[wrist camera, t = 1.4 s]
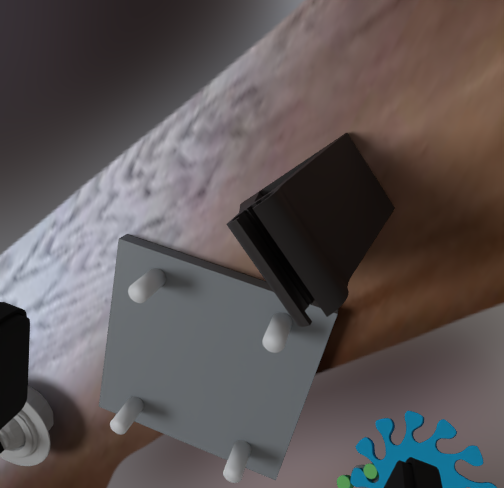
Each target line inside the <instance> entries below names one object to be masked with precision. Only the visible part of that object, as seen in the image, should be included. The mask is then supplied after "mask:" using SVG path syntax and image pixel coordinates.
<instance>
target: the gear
mask: <svg viewBox="0 0 504 488" xmlns="http://www.w3.org/2000/svg"><path fill="white" fill-rule="evenodd" d="M405 421H406V434H405V437H404V439H403V441H402V443H401V444H400V445H395V444H393V443H392V441H391V434H392V432H393V431H394V427H395V426H394V422H393V420H392V419H389V418H384V419H380V420H377V421H376V428H377V429H378V431H379V432H380V433H381V435H382V437H383V439H384V442H385V447H386V456H385V458H384V459H382V460H380V459H378V458H377V457H376V455H375V450H374V443H373V441H372V440H371V439H370V438H367V437H365V438H363V439H362V440H360V441H359V443H358V444H357V445H356V449H357V451H358V452H359V453H360V454H362V455H364V456H366V457H367V458H368V459H369V460H371V462H372V463H373V464H366V465H358V466H356V467H354V469H353V470H352V474H351V476H350V475H343V476H340V477H339V478H338V479H337V485H338V487H339V488H353V487H354V486H355V487H360V488H384V486H385V484H386V482H387V480H388V478H389V476H390V474H391V472H392V471H393V469H394V467H395V465H396V463H397V462H398V461H399V460H400V461H403V462H406V460H407V459H408V458H409V457H412V458H415V459H417V460H420V461H423V462H425V463H428V464H431V465H433V466H436V467H437V468H438V469H439V472H440V477H441V482H442V487H443V488H466V487H470V488H497V487H496V486H495V485H494V484H492V483H489V482H484V483H480V482H474V481H471V480H468V479H467V478H465V477H463V476H462V475H460V474H459V473H458V472H457V471H456V469H455V462H456V461H457V460H460V459H462V460H465V461H466V462H468V463H470V464H471V465H473V466H480V465H482V464H483V458H482V455H481V453H480V451H479V449H478V447H477V446H468V447H467V448H466V449H465V450H463V451H462V452H460V453H456V454H444V453H441V452H440V451H439V450H438V449H437V446H436V443H437V441H438V440H439V439H441V438H445V439H451V438H454V437H455V436H456V434H457V431H456V430H455V428H454V427H453V426H452V425H451V424H450V423H448V422H447V421H446V420H444V419H443V420H440V421H439V422H438V424H437V428H436V431H435V433H434V434H433V435H432V437H430V438H429V439H428V440H426V441H424V442H422V443H418V442H417V441H415V439H414V437H413V432H414V431H415V430H416V429H417V428H419V427H421V426H422V425H423V423H424V417H423V416H421V415H420V414H418V413H415V412H412V411H407V412H406V414H405Z"/></svg>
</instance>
